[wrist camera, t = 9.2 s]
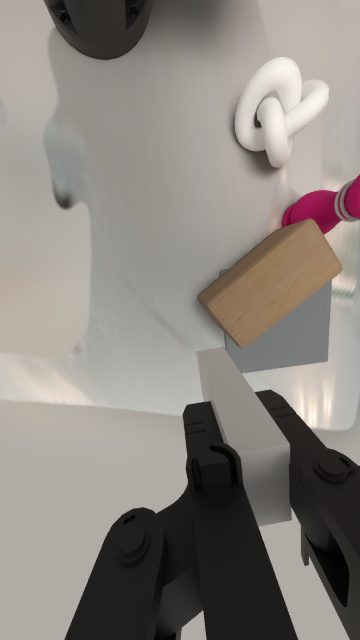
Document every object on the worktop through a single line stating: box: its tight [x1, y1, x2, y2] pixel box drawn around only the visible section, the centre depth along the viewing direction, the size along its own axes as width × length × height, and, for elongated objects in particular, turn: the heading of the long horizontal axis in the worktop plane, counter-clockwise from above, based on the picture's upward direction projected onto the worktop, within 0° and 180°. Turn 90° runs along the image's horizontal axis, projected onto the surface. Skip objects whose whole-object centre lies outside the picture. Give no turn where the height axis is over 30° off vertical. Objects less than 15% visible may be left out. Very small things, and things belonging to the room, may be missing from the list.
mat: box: [220, 269, 332, 373], centre depth 45 cm, size 22×22×1 cm
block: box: [198, 218, 343, 348], centre depth 38 cm, size 10×10×20 cm
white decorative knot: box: [235, 57, 330, 168], centre depth 33 cm, size 11×12×9 cm
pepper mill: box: [283, 175, 360, 235], centre depth 31 cm, size 7×7×20 cm
